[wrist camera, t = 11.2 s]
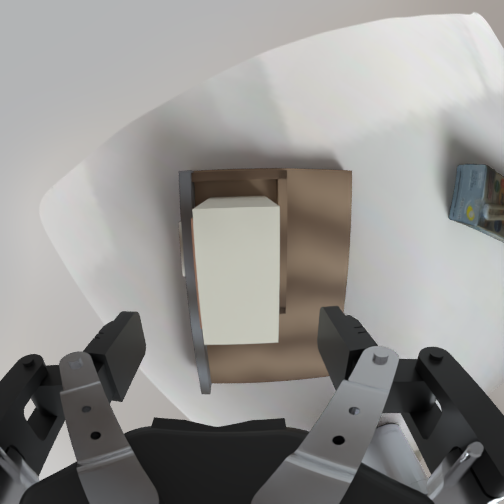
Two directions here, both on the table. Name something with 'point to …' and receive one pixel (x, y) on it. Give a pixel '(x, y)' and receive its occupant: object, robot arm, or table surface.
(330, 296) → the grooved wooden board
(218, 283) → the tea box
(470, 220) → the beverage carton
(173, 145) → the table surface
